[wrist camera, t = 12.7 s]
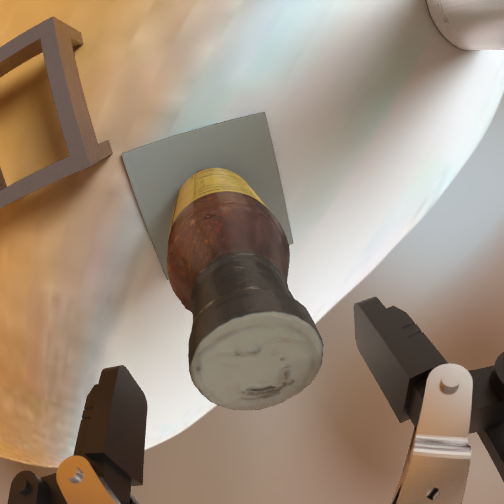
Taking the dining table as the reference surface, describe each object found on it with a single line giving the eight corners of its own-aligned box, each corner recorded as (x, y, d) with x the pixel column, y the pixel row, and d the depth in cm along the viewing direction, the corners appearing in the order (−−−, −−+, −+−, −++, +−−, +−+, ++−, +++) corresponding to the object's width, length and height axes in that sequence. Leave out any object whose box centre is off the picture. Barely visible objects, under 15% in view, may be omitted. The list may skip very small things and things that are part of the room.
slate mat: (263, 112, 25) (264, 112, 24) (292, 241, 30) (293, 243, 30) (122, 153, 24) (121, 154, 24) (167, 277, 30) (167, 279, 29)
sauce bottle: (230, 246, 29) (284, 448, 11) (164, 219, 27) (124, 418, 9) (265, 180, 27) (393, 326, 9) (197, 148, 25) (198, 252, 7)
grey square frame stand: (80, 32, 19) (52, 16, 14) (112, 153, 24) (90, 166, 19) (-13, 85, 19) (-52, 86, 13) (18, 195, 24) (-16, 216, 18)
